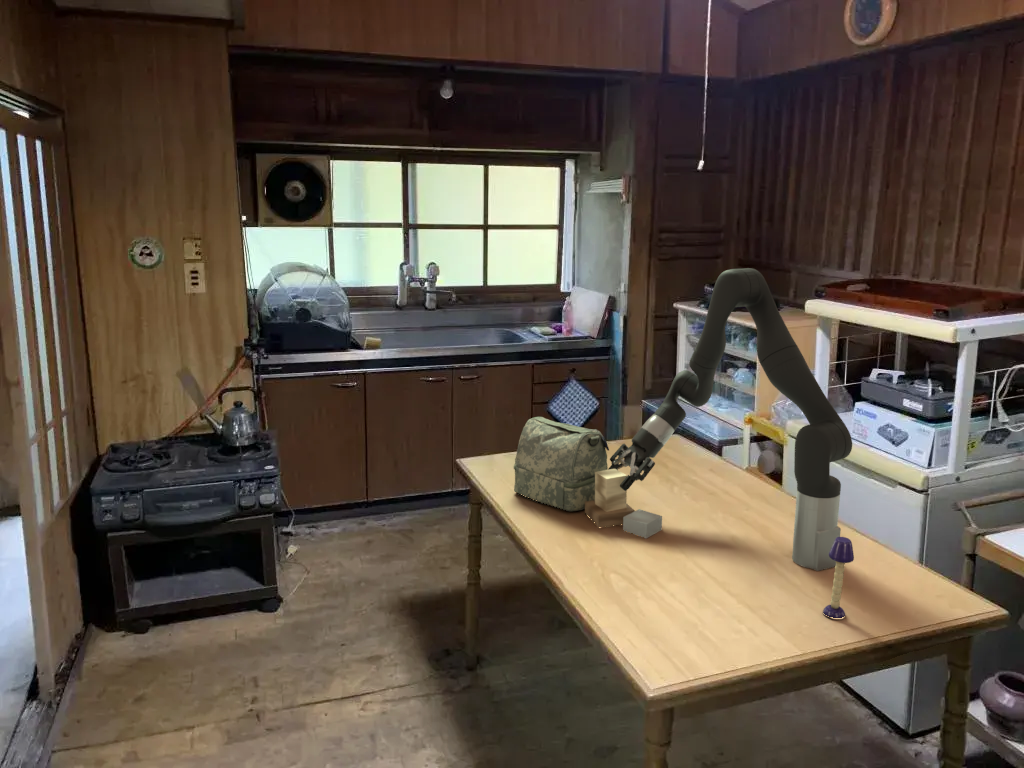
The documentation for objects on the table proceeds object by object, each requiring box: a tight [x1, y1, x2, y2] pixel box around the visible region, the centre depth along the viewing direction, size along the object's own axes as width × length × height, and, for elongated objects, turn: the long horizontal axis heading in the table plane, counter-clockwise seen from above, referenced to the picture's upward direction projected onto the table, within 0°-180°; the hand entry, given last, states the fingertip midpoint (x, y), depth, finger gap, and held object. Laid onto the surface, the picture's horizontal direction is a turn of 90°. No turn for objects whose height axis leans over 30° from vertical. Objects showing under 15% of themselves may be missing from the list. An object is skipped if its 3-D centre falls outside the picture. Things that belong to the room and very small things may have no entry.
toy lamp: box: [822, 536, 855, 618], centre depth 160 cm, size 5×5×17 cm
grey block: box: [622, 508, 663, 539], centre depth 203 cm, size 7×7×4 cm
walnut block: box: [584, 500, 636, 528], centre depth 211 cm, size 10×10×4 cm
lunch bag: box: [513, 416, 610, 512], centre depth 224 cm, size 26×18×22 cm
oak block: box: [595, 468, 628, 512], centre depth 210 cm, size 6×6×9 cm
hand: (614, 483), depth 209 cm, fingers open, 8 cm apart
